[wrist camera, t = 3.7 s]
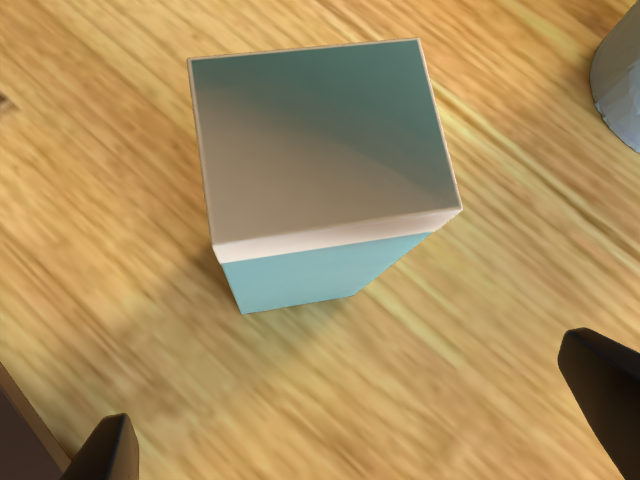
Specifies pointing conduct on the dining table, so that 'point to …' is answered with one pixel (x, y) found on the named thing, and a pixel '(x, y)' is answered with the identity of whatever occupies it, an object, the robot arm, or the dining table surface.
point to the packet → (318, 166)
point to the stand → (26, 438)
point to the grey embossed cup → (620, 78)
